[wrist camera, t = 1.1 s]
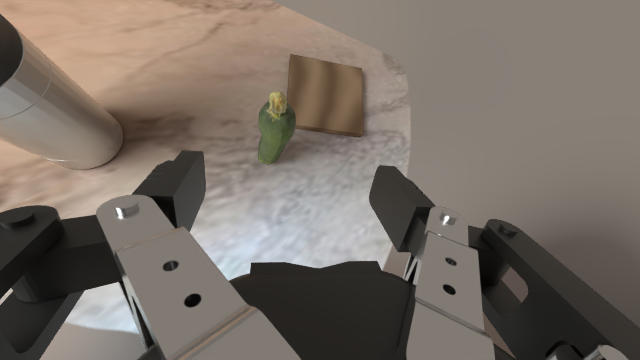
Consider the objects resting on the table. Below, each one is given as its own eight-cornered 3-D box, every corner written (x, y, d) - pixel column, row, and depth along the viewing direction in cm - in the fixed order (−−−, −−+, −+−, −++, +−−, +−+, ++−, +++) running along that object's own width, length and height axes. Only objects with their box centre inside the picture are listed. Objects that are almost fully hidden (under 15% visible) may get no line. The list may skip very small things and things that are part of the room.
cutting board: (285, 127, 44) (286, 123, 43) (289, 59, 48) (290, 54, 46) (360, 137, 47) (363, 133, 46) (358, 73, 51) (361, 68, 49)
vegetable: (266, 141, 43) (275, 58, 24) (288, 154, 43) (315, 83, 24) (252, 162, 41) (250, 91, 22) (275, 175, 41) (292, 117, 23)
